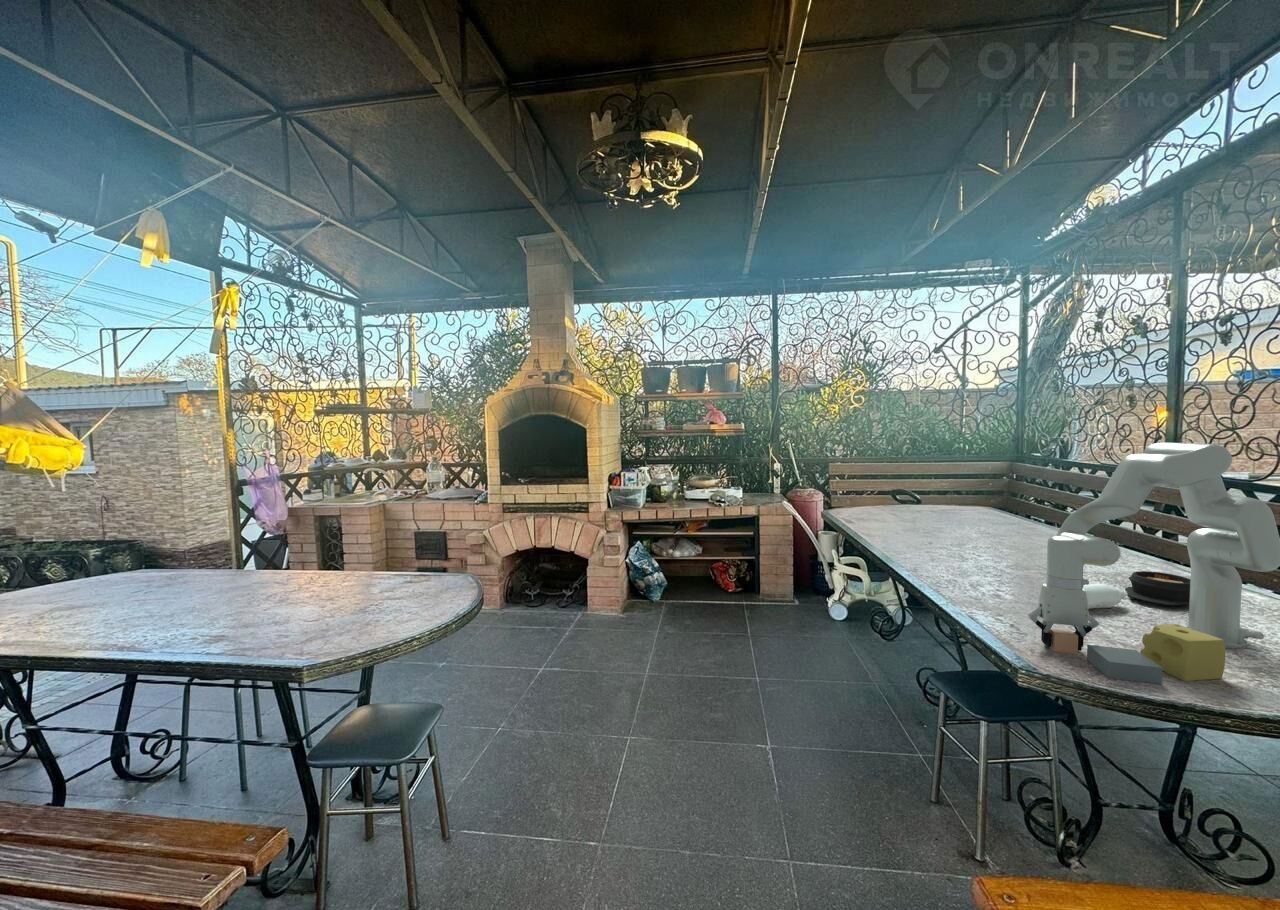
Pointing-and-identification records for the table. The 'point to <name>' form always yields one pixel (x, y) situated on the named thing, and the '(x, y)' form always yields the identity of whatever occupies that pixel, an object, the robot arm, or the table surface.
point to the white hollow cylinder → (1103, 595)
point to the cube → (1064, 640)
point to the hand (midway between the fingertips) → (1061, 646)
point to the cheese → (1185, 652)
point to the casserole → (1159, 588)
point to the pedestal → (1124, 664)
